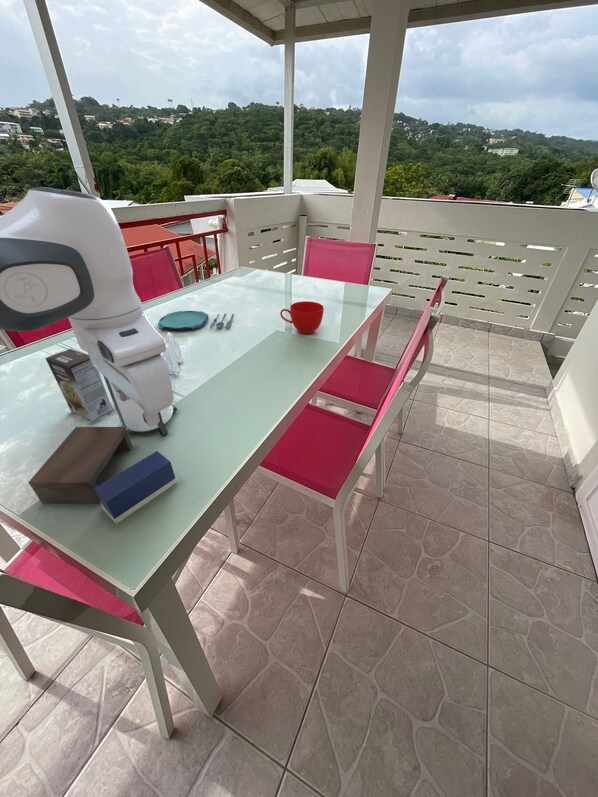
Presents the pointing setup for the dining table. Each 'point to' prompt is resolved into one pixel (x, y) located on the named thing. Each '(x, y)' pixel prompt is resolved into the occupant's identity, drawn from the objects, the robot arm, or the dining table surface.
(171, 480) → the navy block white base
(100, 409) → the coffee box
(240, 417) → the dining table surface
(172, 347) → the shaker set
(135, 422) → the coffee press
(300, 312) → the ceramic cup
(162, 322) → the cutlery set
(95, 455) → the shelf
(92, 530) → the dining table surface
